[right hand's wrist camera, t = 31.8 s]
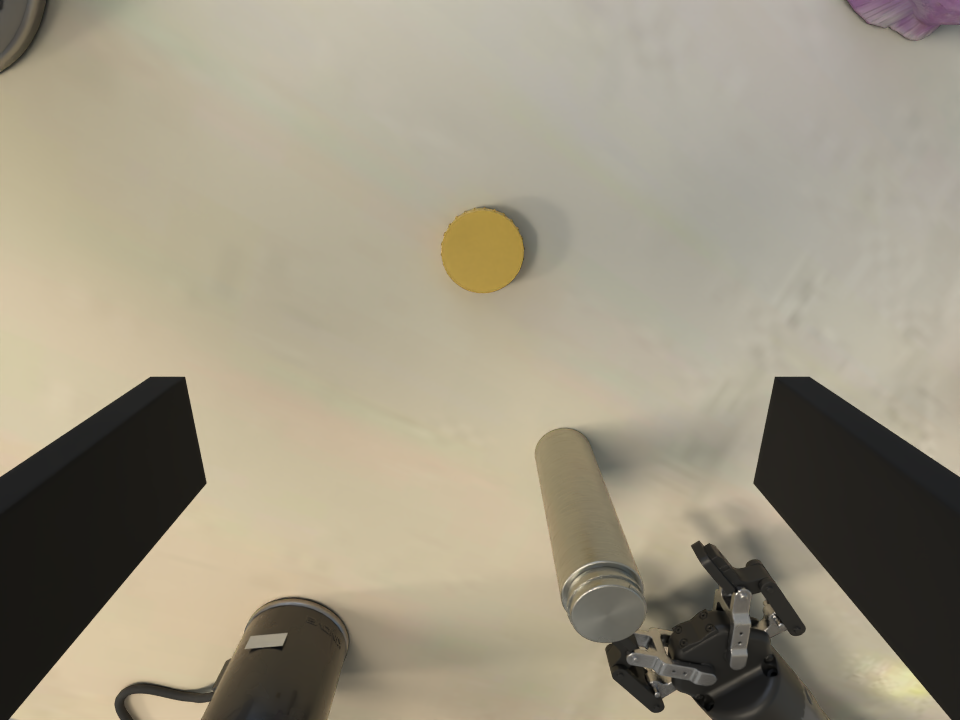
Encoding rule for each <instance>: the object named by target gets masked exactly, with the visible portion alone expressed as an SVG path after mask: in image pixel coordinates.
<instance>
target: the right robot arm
mask: <svg viewBox="0 0 960 720" xmlns="http://www.w3.org/2000/svg"><path fill="white" fill-rule="evenodd" d="M45 4H46V0H0V72H1V71H2V70H4V69H5V68H7V67H8V66H10V65H11V64H12V63H13V62H15V61H16V60H17V59H18V58H19V57H20V56H21V55H22V54H23V52H24V51H25V50H26V49H27V47H28V46H29V44H30V43H31V42H32V40H33V38H34V36H35V34H36V32H37V30H38V28H39V25H40V22H41V20H42V16H43V13H44V9H45ZM205 485H206V478H205V473H204V468H203V463H202V458H201V453H200V448H199V443H198V439H197V434H196V429H195V424H194V419H193V414H192V409H191V404H190V399H189V394H188V389H187V384H186V379H185V377H150V378H148V379H147V380H145V381H144V382H142V383H141V384H139V385H138V386H136V387H135V388H133V389H132V390H130V391H129V392H127V393H126V394H124V395H123V396H121V397H120V398H118V399H117V400H115V401H114V402H112V403H111V404H109V405H108V406H106V407H105V408H103V409H102V410H100V411H99V412H97V413H96V414H94V415H93V416H91V417H90V418H88V419H87V420H85V421H84V422H82V423H81V424H79V425H78V426H76V427H75V428H73V429H72V430H70V431H69V432H67V433H66V434H64V435H63V436H61V437H60V438H58V439H57V440H55V441H54V442H52V443H51V444H49V445H48V446H46V447H45V448H43V449H42V450H40V451H39V452H37V453H36V454H34V455H33V456H31V457H30V458H28V459H27V460H25V461H24V462H22V463H21V464H19V465H18V466H16V467H15V468H13V469H12V470H10V471H9V472H7V473H6V474H4V475H3V476H1V477H0V720H9V719H10V717H11V716H12V715H13V714H14V713H15V711H16V710H17V709H18V708H19V707H20V705H21V704H22V703H23V702H24V701H25V699H26V698H27V697H28V696H29V695H30V693H31V692H32V691H33V690H34V689H35V687H36V686H37V685H38V684H39V683H40V681H41V680H42V679H43V678H44V677H45V676H46V674H47V673H48V672H49V671H50V670H51V668H52V667H53V666H54V665H55V664H56V662H57V661H58V660H59V659H60V658H61V656H62V655H63V654H64V653H65V652H66V650H67V649H68V648H69V647H70V646H71V644H72V643H73V642H74V641H75V640H76V639H77V637H78V636H79V635H80V634H81V633H82V631H83V630H84V629H85V628H86V627H87V625H88V624H89V623H90V622H91V621H92V619H93V618H94V617H95V616H96V615H97V613H98V612H99V611H100V610H101V609H102V607H103V606H104V605H105V604H106V603H107V602H108V600H109V599H110V598H111V597H112V596H113V594H114V593H115V592H116V591H117V590H118V588H119V587H120V586H121V585H122V584H123V582H124V581H125V580H126V579H127V578H128V576H129V575H130V574H131V573H132V572H133V570H134V569H135V568H136V567H137V566H138V565H139V563H140V562H141V561H142V560H143V559H144V557H145V556H146V555H147V554H148V553H149V551H150V550H151V549H152V548H153V547H154V545H155V544H156V543H157V542H158V541H159V539H160V538H161V537H162V536H163V535H164V533H165V532H166V531H167V530H168V529H169V528H170V526H171V525H172V524H173V523H174V522H175V520H176V519H177V518H178V517H179V516H180V514H181V513H182V512H183V511H184V510H185V508H186V507H187V506H188V505H189V504H190V502H191V501H192V500H193V499H194V498H195V496H196V495H197V494H198V493H199V492H200V491H201V489H202V488H203V487H204V486H205ZM754 485H755V486H756V487H757V488H758V489H759V491H760V492H761V493H762V494H763V495H764V496H765V498H766V499H767V500H768V501H769V502H770V504H771V505H772V506H773V507H774V508H775V510H776V511H777V512H778V513H779V514H780V516H781V517H782V518H783V519H784V520H785V522H786V523H787V524H788V525H789V526H790V528H791V529H792V530H793V531H794V532H795V533H796V535H797V536H798V537H799V538H800V539H801V541H802V542H803V543H804V544H805V545H806V547H807V548H808V549H809V550H810V551H811V553H812V554H813V555H814V556H815V557H816V559H817V560H818V561H819V562H820V563H821V565H822V566H823V567H824V568H825V569H826V571H827V572H828V573H829V574H830V575H831V576H832V578H833V579H834V580H835V581H836V582H837V584H838V585H839V586H840V587H841V588H842V590H843V591H844V592H845V593H846V594H847V596H848V597H849V598H850V599H851V600H852V602H853V603H854V604H855V605H856V606H857V608H858V609H859V610H860V611H861V612H862V613H863V615H864V616H865V617H866V618H867V619H868V621H869V622H870V623H871V624H872V625H873V627H874V628H875V629H876V630H877V631H878V633H879V634H880V635H881V636H882V637H883V639H884V640H885V641H886V642H887V643H888V645H889V646H890V647H891V648H892V649H893V650H894V652H895V653H896V654H897V655H898V656H899V658H900V659H901V660H902V661H903V662H904V664H905V665H906V666H907V667H908V668H909V670H910V671H911V672H912V673H913V674H914V676H915V677H916V678H917V679H918V680H919V682H920V683H921V684H922V685H923V686H924V687H925V689H926V690H927V691H928V692H929V693H930V695H931V696H932V697H933V698H934V699H935V701H936V702H937V703H938V704H939V705H940V707H941V708H942V709H943V710H944V711H945V713H946V714H947V715H948V716H949V717H950V719H951V720H960V477H959V476H957V475H956V474H954V473H953V472H951V471H950V470H948V469H947V468H945V467H944V466H942V465H941V464H939V463H938V462H936V461H935V460H933V459H932V458H930V457H929V456H927V455H926V454H924V453H923V452H921V451H920V450H918V449H917V448H915V447H914V446H912V445H911V444H909V443H908V442H906V441H905V440H903V439H902V438H900V437H899V436H897V435H896V434H894V433H893V432H891V431H890V430H888V429H887V428H885V427H884V426H882V425H881V424H879V423H878V422H876V421H875V420H873V419H872V418H870V417H869V416H867V415H866V414H864V413H863V412H861V411H860V410H858V409H857V408H855V407H854V406H852V405H851V404H849V403H848V402H846V401H845V400H843V399H842V398H840V397H839V396H837V395H836V394H834V393H833V392H831V391H830V390H828V389H827V388H825V387H824V386H822V385H821V384H819V383H818V382H816V381H815V380H813V379H812V378H810V377H775V379H774V384H773V389H772V394H771V399H770V404H769V409H768V414H767V419H766V424H765V429H764V434H763V439H762V443H761V448H760V453H759V458H758V463H757V468H756V473H755V478H754Z"/></svg>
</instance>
